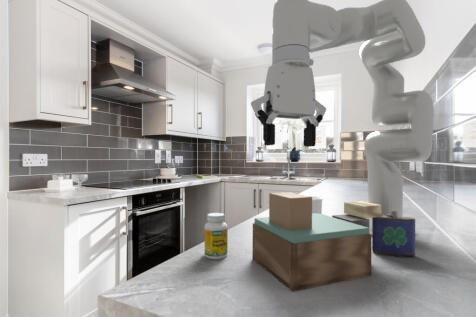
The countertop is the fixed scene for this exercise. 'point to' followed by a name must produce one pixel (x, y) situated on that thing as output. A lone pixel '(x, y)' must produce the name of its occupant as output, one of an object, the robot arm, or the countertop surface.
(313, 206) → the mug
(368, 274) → the wooden box
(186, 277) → the countertop surface
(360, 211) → the pale gold block
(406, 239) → the flask
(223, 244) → the supplement bottle
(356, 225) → the lid
